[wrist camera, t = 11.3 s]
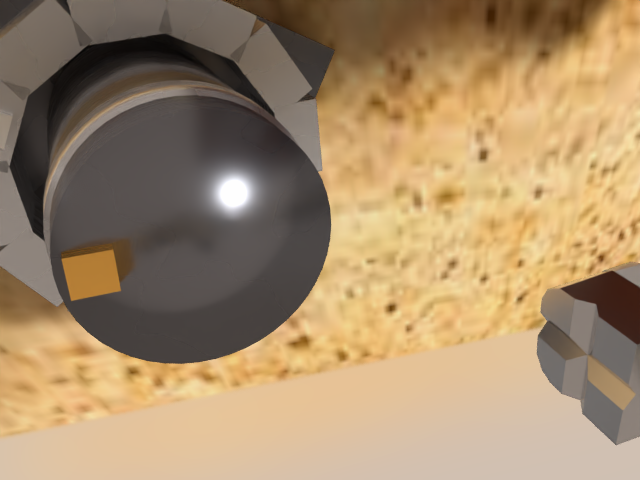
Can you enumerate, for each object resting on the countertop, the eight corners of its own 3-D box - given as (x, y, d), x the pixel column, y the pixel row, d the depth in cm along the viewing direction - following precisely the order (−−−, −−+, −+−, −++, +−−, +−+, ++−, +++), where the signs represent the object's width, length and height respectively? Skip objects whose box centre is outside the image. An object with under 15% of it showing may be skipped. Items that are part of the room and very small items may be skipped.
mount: (322, 44, 19) (375, 68, 16) (225, 284, 22) (254, 344, 19) (16, -92, 15) (8, -95, 12) (-60, 228, 18) (-84, 294, 14)
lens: (223, 26, 17) (342, 91, 10) (236, 196, 20) (340, 339, 13) (22, 39, 15) (6, 127, 9) (64, 223, 18) (77, 405, 11)
